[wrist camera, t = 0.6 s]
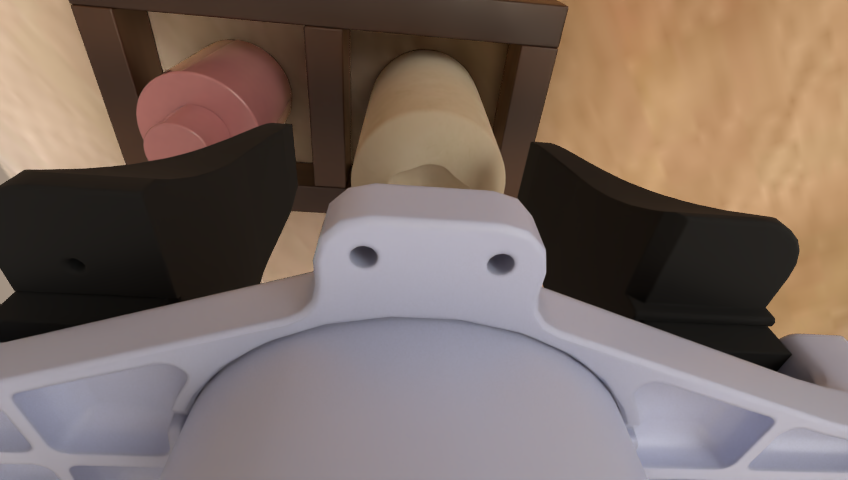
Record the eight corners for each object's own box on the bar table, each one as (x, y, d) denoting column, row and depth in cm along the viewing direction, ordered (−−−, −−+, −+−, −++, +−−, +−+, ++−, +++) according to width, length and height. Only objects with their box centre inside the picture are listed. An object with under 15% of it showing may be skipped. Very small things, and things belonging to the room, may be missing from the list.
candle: (472, 38, 21) (508, 114, 12) (482, 145, 24) (516, 261, 16) (358, 59, 21) (323, 144, 13) (383, 161, 24) (367, 281, 16)
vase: (296, 138, 23) (255, 214, 17) (204, 132, 23) (129, 207, 17) (287, 43, 21) (234, 94, 15) (182, 34, 20) (84, 82, 14)
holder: (506, 200, 26) (514, 225, 24) (161, 177, 25) (138, 201, 23) (552, -3, 20) (569, 6, 18) (93, -48, 18) (52, -44, 16)
